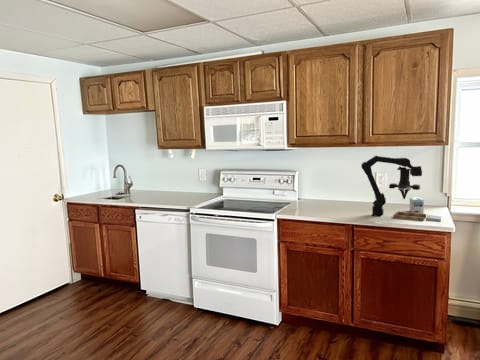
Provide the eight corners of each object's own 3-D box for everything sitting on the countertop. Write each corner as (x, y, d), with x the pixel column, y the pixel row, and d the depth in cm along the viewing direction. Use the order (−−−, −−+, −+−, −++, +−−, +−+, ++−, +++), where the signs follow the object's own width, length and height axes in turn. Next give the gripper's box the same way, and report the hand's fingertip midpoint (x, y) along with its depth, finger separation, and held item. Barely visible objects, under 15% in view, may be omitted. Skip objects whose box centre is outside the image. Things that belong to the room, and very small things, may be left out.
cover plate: (426, 222, 233) (426, 217, 232) (427, 219, 239) (427, 215, 239) (440, 223, 228) (440, 219, 228) (440, 220, 235) (441, 216, 235)
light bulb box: (423, 215, 250) (424, 199, 249) (413, 215, 251) (413, 199, 250) (419, 211, 261) (419, 196, 259) (409, 211, 262) (409, 196, 260)
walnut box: (393, 219, 241) (393, 215, 241) (397, 215, 251) (397, 211, 251) (423, 222, 231) (423, 217, 231) (426, 218, 241) (426, 214, 240)
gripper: (387, 177, 245) (387, 199, 247) (417, 178, 234) (417, 202, 236) (391, 175, 254) (390, 197, 256) (420, 176, 243) (419, 199, 245)
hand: (404, 198), depth 248 cm, fingers closed
